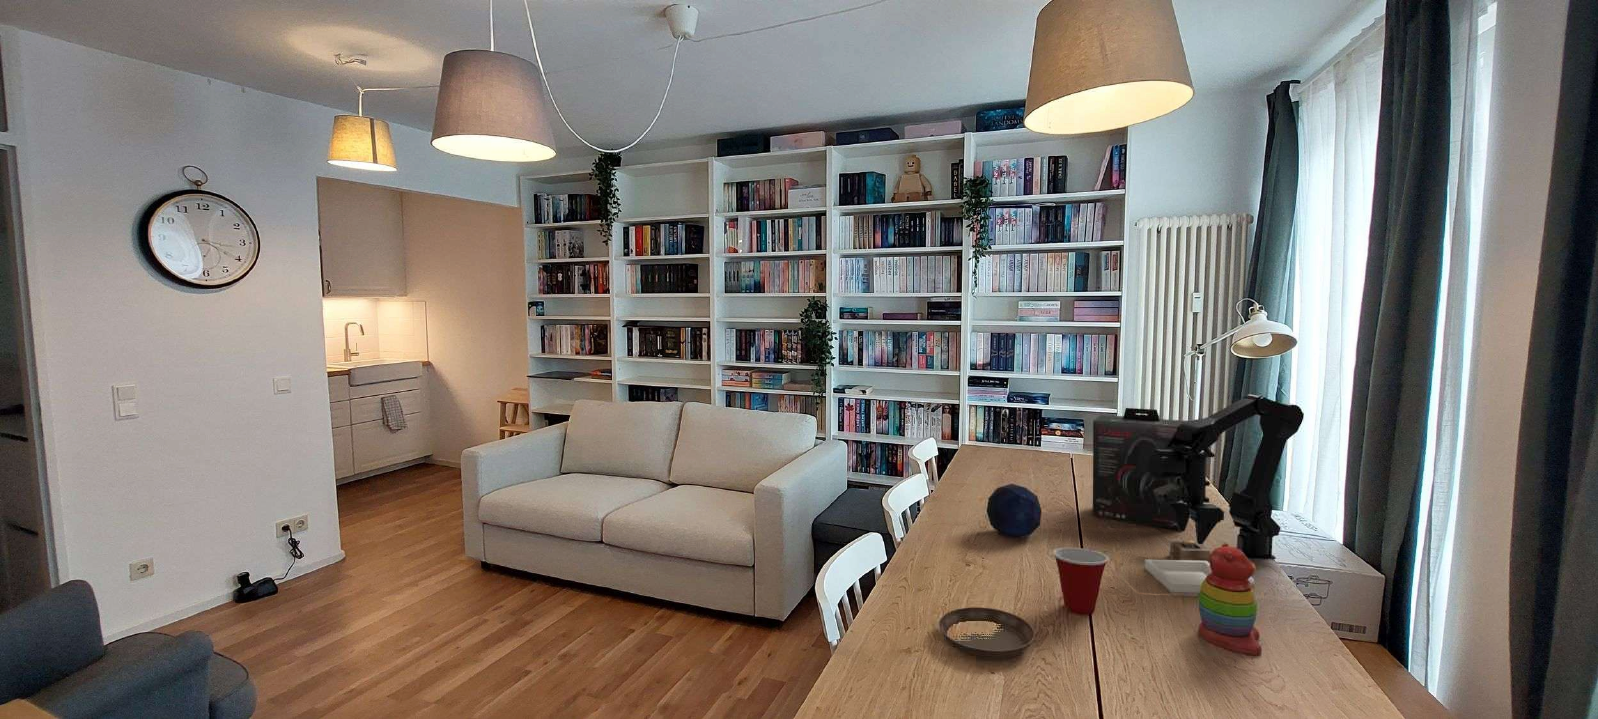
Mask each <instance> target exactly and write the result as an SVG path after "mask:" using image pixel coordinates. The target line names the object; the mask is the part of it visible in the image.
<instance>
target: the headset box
mask: <svg viewBox="0 0 1598 719" xmlns="http://www.w3.org/2000/svg"><path fill="white" fill-rule="evenodd" d="M1188 421H1189V420H1184V419H1183V420H1182V419H1164V418H1160V415H1159V413H1158V410H1157V409H1154V408H1153V409H1151V408H1135V407H1125V409H1124V413H1123V416H1122V415H1111V414H1110V415H1107V414H1100V415H1099V416H1097V418H1095V419H1094V420H1093V421H1092V440H1093V441H1092V517H1094V516H1096V518H1100V519H1101V518H1103V519H1109V520H1115V521H1121V522H1122V521H1123V522H1127V523H1133V524H1134V523H1135V524H1140V525H1148V526H1154V527H1161V528H1165V529H1174V530H1179V527H1178V524H1177V520H1176V517H1175V513H1174V510H1173V508H1172V507H1171V506H1170V505H1169V506H1162V505H1161V504H1160V503H1158V502H1157V500H1156V498H1155V495H1154V492H1153V490H1154V489H1156V488H1159V487H1162V486H1165V485H1168V484H1173V483H1174V479H1175V478H1176V477H1165V478H1155V477H1154V476H1152V475H1151V473H1150V471H1149V469H1148V461H1149V459H1150V457H1151V456H1152V455H1154V450H1155V449H1160V450H1167V449H1165V447H1166V446H1167V444H1168V443H1169V441H1170V440H1171V438H1172V437H1173V435H1174V434H1175V432H1176V431H1177V427H1178V426H1179V425H1180V424H1182V423H1185V422H1188ZM1179 446H1183V445H1179ZM1183 447H1186V448H1190V447H1187V446H1183Z"/></svg>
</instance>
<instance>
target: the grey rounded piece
mask: <svg viewBox="0 0 1598 719" xmlns="http://www.w3.org/2000/svg"><path fill="white" fill-rule="evenodd" d="M1182 541H1183V544H1185V548H1186V549H1195V543H1196V542H1197V541H1195V540H1182ZM1194 541H1195V542H1194Z"/></svg>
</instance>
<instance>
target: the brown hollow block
mask: <svg viewBox="0 0 1598 719" xmlns="http://www.w3.org/2000/svg"><path fill="white" fill-rule="evenodd" d="M1183 541H1184V540H1170V541H1169V542H1170V546H1169V547H1170V548H1169V549H1170V550H1169V553H1168V554H1169V556H1168V558H1169V560H1192V561H1207V562H1209V556H1210V554H1211V550H1210V549H1208V548H1207V547H1206V546H1204V545H1203V544H1198V543H1197V541H1195V540H1193V541H1194V542H1196V543H1195V549H1186V548H1185V544H1183Z"/></svg>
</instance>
